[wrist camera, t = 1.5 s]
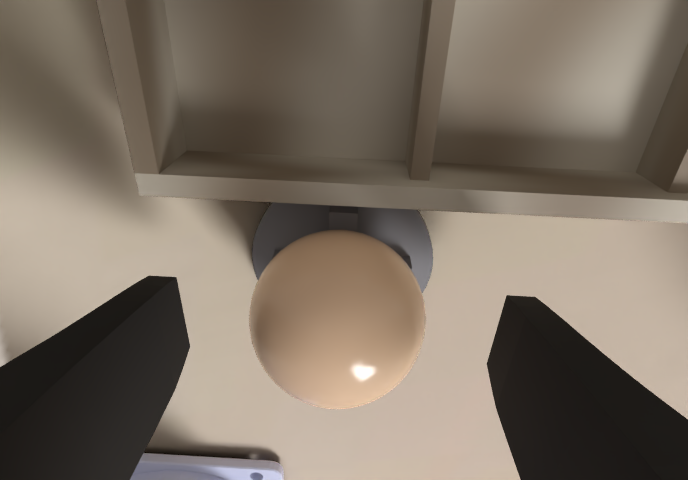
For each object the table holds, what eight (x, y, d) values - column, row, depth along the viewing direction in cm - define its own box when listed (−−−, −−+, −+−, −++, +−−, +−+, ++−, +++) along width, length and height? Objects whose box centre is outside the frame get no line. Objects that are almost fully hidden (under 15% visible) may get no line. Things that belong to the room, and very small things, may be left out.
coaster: (260, 318, 13) (253, 341, 12) (248, 168, 11) (239, 183, 10) (419, 327, 13) (422, 350, 12) (443, 177, 11) (450, 193, 10)
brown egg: (272, 320, 12) (237, 444, 9) (264, 197, 10) (215, 293, 7) (406, 328, 12) (423, 455, 9) (424, 205, 10) (455, 307, 7)
